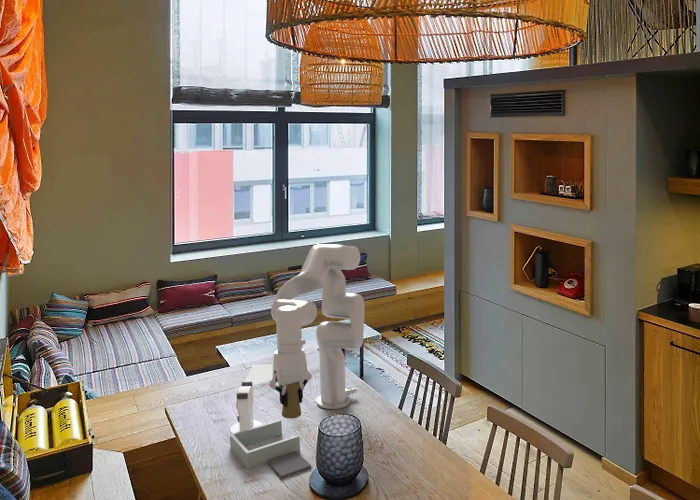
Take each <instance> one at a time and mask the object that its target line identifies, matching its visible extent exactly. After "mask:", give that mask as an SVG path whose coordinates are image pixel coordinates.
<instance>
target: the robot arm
mask: <svg viewBox="0 0 700 500" xmlns="http://www.w3.org/2000/svg"><path fill="white" fill-rule="evenodd" d="M360 262H361V254H360V250H359V248H358V247H356V246H354V245H344V244H327V243H325V244H323V243H322V244H320V243H319V244H316V245H315V244H314V245H313V246H311V248H310V250H309V252H308V254H307V256H306V258H305V261H304V262H303V265H302V267H301V271H300V273H299V274H297V275H296V276H294V277H292V278H291V279H289V280H288V281H286V282H285V283H283V285H281V287H280V288H278V290H277V293H276V295H275V297H274V299H273V301H272V304H271V310H270V314H271V317H272V319H273V321H275V322H276V323H275V325H276V348H277V350H276V351H274V354H273V361H272V362H273V363H272V378H271V380H270V382H269V384H268V387H269V388H270V389H273V390H275V391H277V392H278V393H279V403H280V404H281V405H282V407H283V406H285V407H287V394H286V393H285V392H286V386H287V385H288V384H292V383H296V382H299V385H300V387H299V390H298V395H299V402H300V404H301V403H303V399H304V392H303V391H304V389H305V387H306V385H307V384H308V383H309V381H310V380H311V379H312V378H313V376H312V374H311V373H310V371H308V364H307V358H306V357H307V356H306V354H305V353H306V352H305V350H304V348H303V346H304V345H306V340H305V339H303V335H302V333H303V331H302V327H305V326H308V325H311V324H312V323H313V322H315V320H316V319H317V315H318V308H317V306H316V303H314V302H313V301H311V300H302V299H294V298H296V297H298V296H301V295H306V294H308V293H311V292H312V293H313V292H314V291H317V290H319V289H320V288H322V289H321V290H322V293H321V312H322V315H323V316H325V317H327V318H333V319H343V320H344V319H345V320H349V322H345V321H344V322H343V321H332V320H328V321H327V320H326V321H323V322H320V323H319V324H318V325H317V327H316V330H315V336H316V343H317V346H318V353H319V355H318V356H319V357H318V359H319V378H320V379H319V380H320V382H319V383H320V395H319V396H318V397H317V398H316V404H317V406H319V407H320V408H323V409H326V410H327V409H328V410H338V409H342V408H345V407H347V406H349V404H350V403H351V398H350V396H351V394H352V395H353V394H356V393H357V392H358V390H357V387H353V388H351V387H349V386H348V387H346V384H347V383H346V357H345V355H344V352H343V350H342V349H346V350H347V349H348V350H357V349H360V348H361V347H362V346H363V343H364V342H363V341H364V334H365V332H364V331H365V330H364V329H365V328H364V327H365V307H366V306H365V300H364V298H363V296H362V295H361V294H360V293H356V292H355V293H353V292H346V283H347V282H346V277H345V275H344V273H343V271H342V270H345V271H351V270H352V271H354V270H356V269H357V268H358V267H359V265H360ZM277 384H278V385H277Z"/></svg>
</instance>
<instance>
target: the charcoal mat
mask: <svg viewBox="0 0 700 500" xmlns="http://www.w3.org/2000/svg"><path fill="white" fill-rule="evenodd" d="M266 464H267V465H268V467H270V469H271V470H272V471H273V472H274V473H275V474H276V475H277V476H278V478H280V479H281V480H283V479H285V478H288V477H291V476H293V475H297V474H299V473H302V472H305V471H308V470H311V469H312V465H311V464H310V463H309V461H307V460H306V459H305V458H304V457H303V456H302V455H301V454H300V453H299V452H296V451H295V452H292V453H289V454H286V455H283V456H280V457H277V458H274V459H271V460H268V461H267V462H266Z"/></svg>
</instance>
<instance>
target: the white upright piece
mask: <svg viewBox="0 0 700 500" xmlns="http://www.w3.org/2000/svg"><path fill="white" fill-rule="evenodd" d="M253 389H254V388H253V381H242V382H241V386H240V387H239V388H238V392H236V410H237V422H236V423H234V424H233V425H231V426H230V428H229V429H230V434H233V433H237V432H240V431H243V430H247V429H250V428H253V427H257V426H260V425H263V424H264V423H262V422H261V421H259V420H255V419H254V390H253Z"/></svg>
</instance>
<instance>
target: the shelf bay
mask: <svg viewBox="0 0 700 500" xmlns="http://www.w3.org/2000/svg"><path fill="white" fill-rule="evenodd" d="M262 424H263V425H260V426H257V427H253V428H250V429H247V430H243V431H240V432H237V433H233V434H232V433H230V434H229V445H230V450H231V451H232V452H233V453H234V455H235V456H236V457H237V458H238V459H239V460H240V461H241V463H242V464H243V465H244V466H245V467H246V468H247V469H251V468H253V467H256V466H259V465H262V464H265V463H267V461H268V460H271V459H274V458H277V457H280V456H283V455H286V454H289V453H292V452H295V451H296V452H297V453H299V452H300V451H301V439H300V437H301V436H300V435H298V434H297V435H294V436H292V437H288V438H284V439H281V440H278V441H276V442H272V443H269V444H265V445H263V446H260V447H256V448H253V449H251V450H248V448H247V447H246V446H249V445H252V444H256V443H259V442H261V441H264V440H265V441H266V440H268V439H271V438H275V437H278V436H282V435H283V426H282V419H277V420H274V421H270V422H266V423H262Z"/></svg>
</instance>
